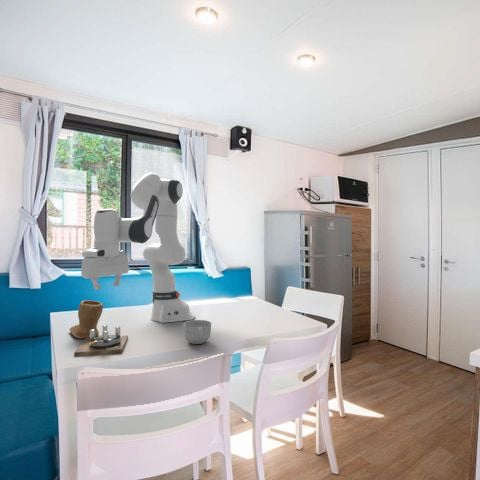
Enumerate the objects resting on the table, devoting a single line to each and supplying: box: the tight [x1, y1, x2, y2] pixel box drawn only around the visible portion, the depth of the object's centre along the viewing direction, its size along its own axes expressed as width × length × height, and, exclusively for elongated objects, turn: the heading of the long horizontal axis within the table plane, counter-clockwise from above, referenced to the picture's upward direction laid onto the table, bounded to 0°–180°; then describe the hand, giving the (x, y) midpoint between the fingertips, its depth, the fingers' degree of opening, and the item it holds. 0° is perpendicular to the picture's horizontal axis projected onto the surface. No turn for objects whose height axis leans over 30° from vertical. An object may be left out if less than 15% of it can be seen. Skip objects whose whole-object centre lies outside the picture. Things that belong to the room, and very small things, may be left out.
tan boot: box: [69, 299, 104, 339], centre depth 142 cm, size 15×12×15 cm
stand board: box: [73, 334, 129, 357], centre depth 126 cm, size 16×17×2 cm
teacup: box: [183, 319, 212, 345], centre depth 131 cm, size 14×11×8 cm
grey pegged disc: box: [89, 324, 121, 348], centre depth 125 cm, size 11×11×6 cm
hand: (107, 287), depth 125 cm, fingers open, 8 cm apart
